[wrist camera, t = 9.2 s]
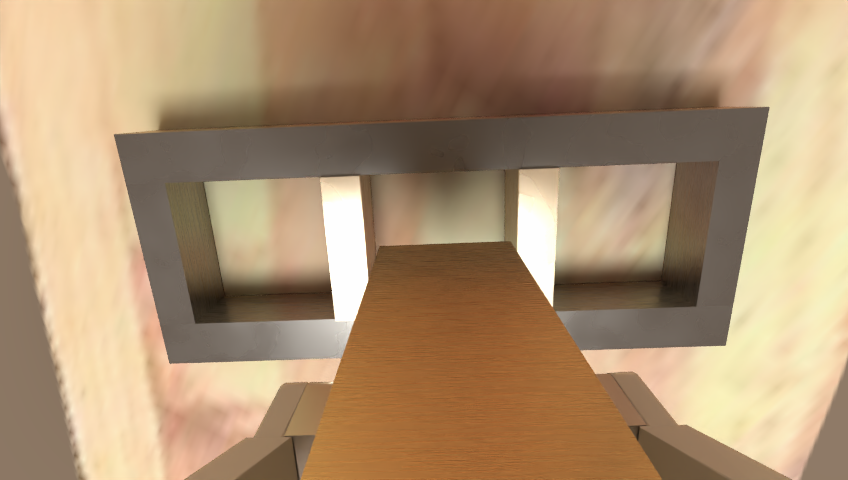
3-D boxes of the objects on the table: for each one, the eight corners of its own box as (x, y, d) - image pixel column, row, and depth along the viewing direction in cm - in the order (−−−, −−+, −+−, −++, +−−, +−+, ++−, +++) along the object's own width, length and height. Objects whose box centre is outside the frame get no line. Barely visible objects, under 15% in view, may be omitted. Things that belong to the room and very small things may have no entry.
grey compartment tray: (158, 130, 20) (110, 134, 17) (719, 106, 20) (773, 106, 17) (201, 331, 23) (167, 365, 20) (687, 315, 23) (728, 347, 20)
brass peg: (379, 246, 13) (262, 591, 4) (510, 241, 13) (726, 579, 4) (387, 360, 15) (313, 847, 5) (508, 356, 14) (669, 840, 5)
